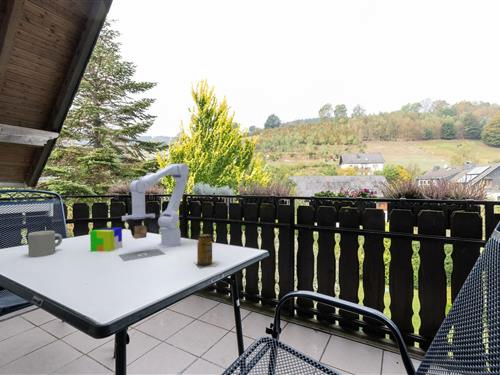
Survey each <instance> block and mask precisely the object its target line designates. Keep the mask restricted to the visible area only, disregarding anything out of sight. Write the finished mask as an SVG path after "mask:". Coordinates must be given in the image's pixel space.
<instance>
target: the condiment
mask: <svg viewBox="0 0 500 375" xmlns="http://www.w3.org/2000/svg"><path fill="white" fill-rule="evenodd" d="M197 237H198V239H197V247H196V249H197V251H196V252H197V253H196V254H197V255H196V256H197V260H196V261H194V262H193V263H194V264H195V265H196V266H197V268H199V269H202V268H203V269H204V268H212V267H216V266H217V264H216V263H214V262H213V241H212V235H211V234H209V233H202V234H198V236H197Z"/></svg>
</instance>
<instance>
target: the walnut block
mask: <svg viewBox="0 0 500 375" xmlns="http://www.w3.org/2000/svg"><path fill="white" fill-rule="evenodd" d="M131 236H132V238H133V239H135V240H137V239H145V238H147V234H146V226H144V224H143V225H134V235H132V234H131Z"/></svg>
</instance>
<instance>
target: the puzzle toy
mask: <svg viewBox="0 0 500 375" xmlns="http://www.w3.org/2000/svg"><path fill="white" fill-rule="evenodd" d="M89 234H90V236H89V237H90V252H91V253H92V252H112V251H115V250H117V249H119V248H122V247H123V228H122V227H106V226H105V227H100V228H97V229H93V230H90V233H89Z"/></svg>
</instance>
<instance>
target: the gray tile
mask: <svg viewBox="0 0 500 375" xmlns="http://www.w3.org/2000/svg"><path fill="white" fill-rule="evenodd" d="M163 255H166V253H165V252H164V251H162V250H160V249H159V248H156V249H155V248H154V249H149V250H143V251H142V250H141V251H135V252H130V253H122V254H118V257H119V258H120V259H121V260H122V261H123V262H128V261H135V260H140V259H146V258H151V257H159V256H163Z"/></svg>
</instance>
